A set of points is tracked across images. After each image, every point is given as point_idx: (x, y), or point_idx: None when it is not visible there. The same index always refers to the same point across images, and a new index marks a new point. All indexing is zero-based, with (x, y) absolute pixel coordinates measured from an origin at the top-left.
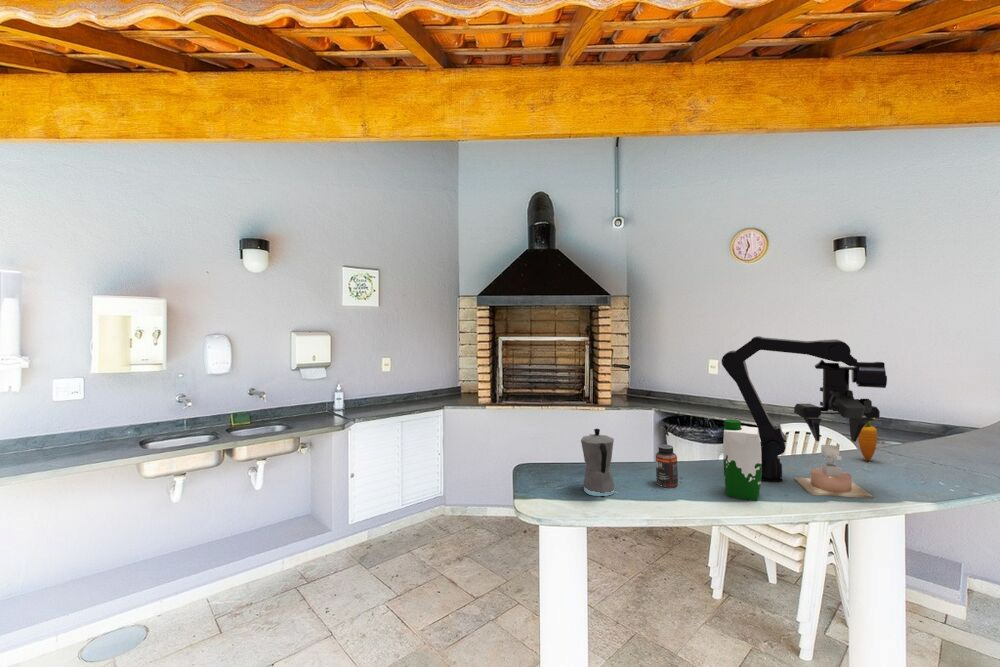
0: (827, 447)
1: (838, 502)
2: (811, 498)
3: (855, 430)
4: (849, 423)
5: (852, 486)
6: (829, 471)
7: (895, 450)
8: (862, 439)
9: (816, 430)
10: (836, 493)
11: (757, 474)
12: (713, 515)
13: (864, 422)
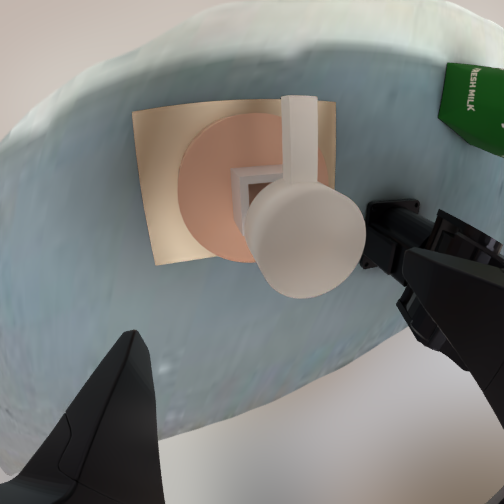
0: (344, 222)
1: (269, 45)
2: (338, 71)
3: (115, 421)
4: (164, 502)
5: (166, 198)
6: (279, 167)
7: None
8: None
9: (498, 269)
10: (254, 101)
11: (498, 70)
12: (488, 24)
13: (9, 497)
